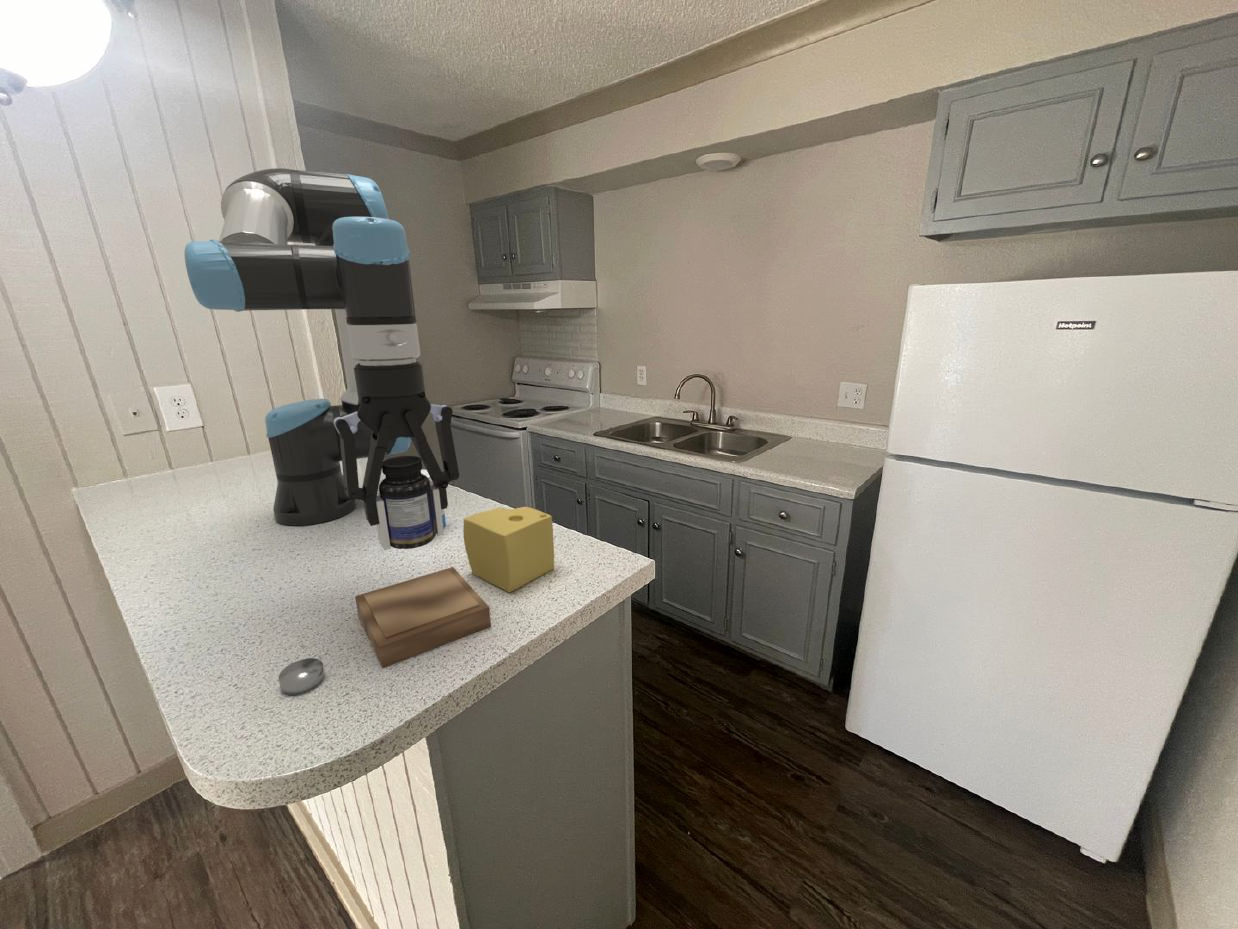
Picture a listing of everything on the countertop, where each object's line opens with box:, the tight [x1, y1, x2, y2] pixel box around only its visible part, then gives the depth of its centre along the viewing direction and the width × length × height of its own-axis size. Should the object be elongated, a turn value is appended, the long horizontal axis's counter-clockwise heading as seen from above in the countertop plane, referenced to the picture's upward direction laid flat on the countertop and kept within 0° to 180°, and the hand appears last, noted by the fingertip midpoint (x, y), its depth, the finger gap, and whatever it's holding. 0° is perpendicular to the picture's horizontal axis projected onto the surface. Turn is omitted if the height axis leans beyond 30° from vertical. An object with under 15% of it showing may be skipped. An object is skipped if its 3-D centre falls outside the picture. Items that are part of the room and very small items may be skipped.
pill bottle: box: [378, 455, 437, 550], centre depth 67 cm, size 6×6×11 cm
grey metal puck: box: [278, 657, 326, 697], centre depth 60 cm, size 4×4×2 cm
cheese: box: [462, 506, 555, 593], centre depth 83 cm, size 10×11×10 cm
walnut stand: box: [354, 566, 492, 668], centre depth 71 cm, size 14×14×3 cm
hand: (412, 538), depth 68 cm, fingers closed on pill bottle, 6 cm apart
